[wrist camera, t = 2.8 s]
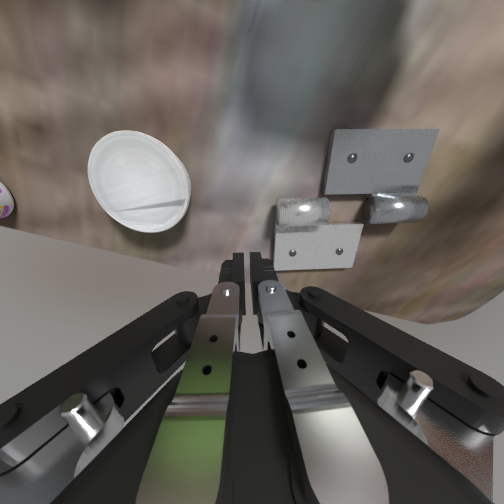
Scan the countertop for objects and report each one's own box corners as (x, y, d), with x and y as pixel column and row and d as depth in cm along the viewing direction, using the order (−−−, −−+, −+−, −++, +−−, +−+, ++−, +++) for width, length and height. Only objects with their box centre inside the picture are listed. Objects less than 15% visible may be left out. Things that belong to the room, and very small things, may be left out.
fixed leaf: (435, 130, 25) (468, 124, 21) (403, 218, 30) (425, 225, 27) (330, 130, 24) (346, 124, 21) (317, 220, 29) (328, 228, 26)
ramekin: (164, 235, 29) (150, 249, 24) (98, 179, 25) (65, 182, 20) (214, 188, 27) (208, 193, 22) (149, 116, 23) (124, 102, 18)
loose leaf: (366, 194, 28) (384, 199, 24) (348, 264, 33) (361, 276, 30) (275, 196, 27) (281, 201, 24) (272, 267, 33) (276, 279, 29)
